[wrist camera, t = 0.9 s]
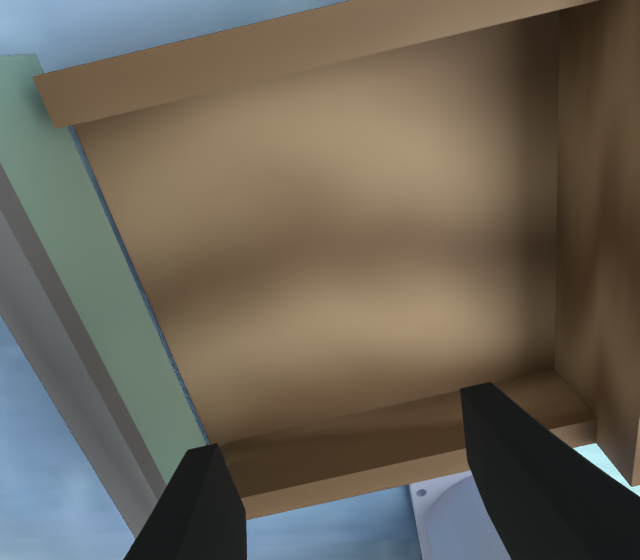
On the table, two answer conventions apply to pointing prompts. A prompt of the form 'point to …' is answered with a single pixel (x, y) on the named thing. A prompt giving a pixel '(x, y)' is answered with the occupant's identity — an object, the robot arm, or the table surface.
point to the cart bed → (381, 229)
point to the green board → (83, 307)
